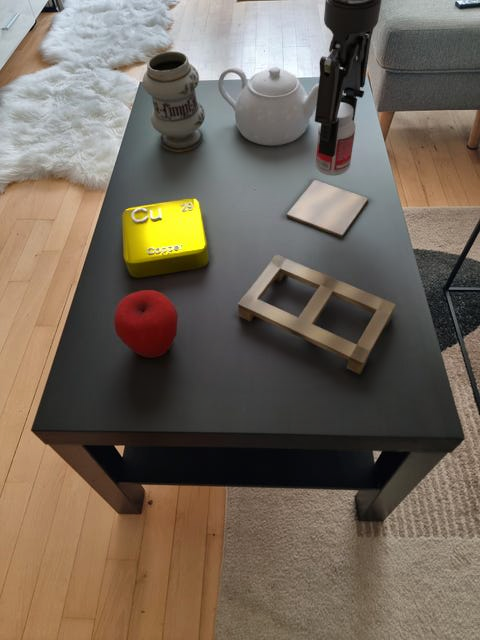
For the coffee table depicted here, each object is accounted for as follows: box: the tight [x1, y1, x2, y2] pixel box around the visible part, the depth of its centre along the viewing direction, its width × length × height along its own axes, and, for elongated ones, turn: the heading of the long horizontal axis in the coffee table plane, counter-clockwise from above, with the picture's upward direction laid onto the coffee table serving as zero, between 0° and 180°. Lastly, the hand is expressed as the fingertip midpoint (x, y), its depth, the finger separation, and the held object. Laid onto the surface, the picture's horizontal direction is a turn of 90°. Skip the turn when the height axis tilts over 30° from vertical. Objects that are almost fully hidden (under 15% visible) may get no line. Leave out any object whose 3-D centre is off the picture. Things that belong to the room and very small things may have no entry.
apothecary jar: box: [142, 50, 206, 153], centre depth 104 cm, size 12×12×18 cm
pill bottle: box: [315, 102, 356, 177], centre depth 83 cm, size 6×6×11 cm
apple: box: [113, 289, 179, 358], centre depth 74 cm, size 10×10×11 cm
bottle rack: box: [237, 254, 397, 375], centre depth 79 cm, size 22×13×4 cm, turn 58°
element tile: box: [121, 198, 210, 279], centre depth 90 cm, size 15×15×5 cm
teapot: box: [217, 66, 319, 146], centre depth 107 cm, size 19×18×14 cm
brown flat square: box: [286, 179, 369, 238], centre depth 95 cm, size 12×12×1 cm
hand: (335, 142), depth 83 cm, fingers closed on pill bottle, 6 cm apart
